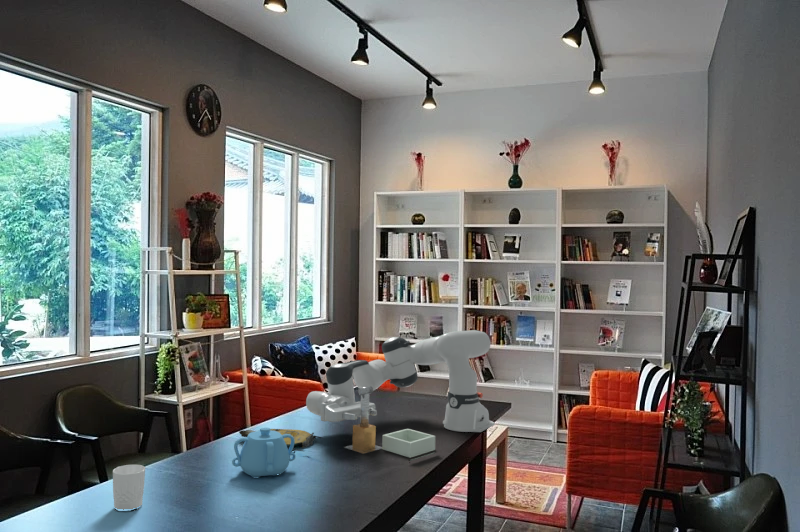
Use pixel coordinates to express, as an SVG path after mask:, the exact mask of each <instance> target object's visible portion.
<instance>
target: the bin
mask: <svg viewBox="0 0 800 532" xmlns="http://www.w3.org/2000/svg"><path fill="white" fill-rule="evenodd" d="M381 442H382V443H381V445H382V446H381V447H382V449H381V450H384V451H387V452H391V453H394V454H397V455H400V456H404V457H407V458H412V459H408V462H411V461H415V460H418V459H421V457H422V458H424V456H425V457H428V456H430V455H434V454H436V451H435V450H436V435H433V434H429V433H426V432H422V431H418V430H414V429H411V428H404V429H400V430H397V431H393V432H390V433H385V434H382V441H381ZM427 453H428V454H427ZM423 454H424V455H423ZM420 455H422V456H420ZM417 456H419V457H417ZM413 457H415V458H413Z"/></svg>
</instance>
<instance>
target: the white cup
mask: <svg viewBox="0 0 800 532" xmlns="http://www.w3.org/2000/svg"><path fill="white" fill-rule="evenodd" d="M145 476H146V467H145V466H144V465H141V464H126V465H125V464H124V465H121V466H117V467H116V468H114V469H112V492H113V495H112V496H113V508H114V507H115V508H117V509H123V510H124V509H133V508H137V507H139V506H141V505H142V506H143V498H144V497H143V496H144V491H145V490H144V489H145V478H146V477H145ZM142 506H141V507H142Z"/></svg>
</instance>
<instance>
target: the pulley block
mask: <svg viewBox="0 0 800 532" xmlns="http://www.w3.org/2000/svg"><path fill="white" fill-rule="evenodd" d="M270 429H271V430H272V431H277V432H279V433H280V434H281V435H284V434H289V435H291V436H293V437H294V440H295V443H294V447H293V450H292V451H301V452H304V450H302V449H304V448H308V447H310V446H313V442H314V441H315V440H316V438H319V439H323V436H317V435H315V432H312V433H310V432H308V431H305V430H302V429H289V428H287V429H286V428H283V429H282V428H270ZM256 431H257V430H251V429H245V430H239V431H238V433H239V434H240V435H241V438H247V436H248V434H249V433H251V432H256ZM284 441H285V443H286V445H287V448H288V450H289V447H290V444H291V439H290V438H288V437H287V438H284ZM300 448H301V449H300Z"/></svg>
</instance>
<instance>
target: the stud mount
mask: <svg viewBox="0 0 800 532" xmlns="http://www.w3.org/2000/svg"><path fill="white" fill-rule="evenodd" d="M343 448H344V449H348V450H352V451H353V452H358V453H359V454H362V455H364V454H368V453H370V452H375V451H378V450H383V449H382V446H379V445H376V444H375V448H372V449H369V450H365V451H362V450H359V449H356V448H353V447H352V444H349V445H347V446H343Z"/></svg>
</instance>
